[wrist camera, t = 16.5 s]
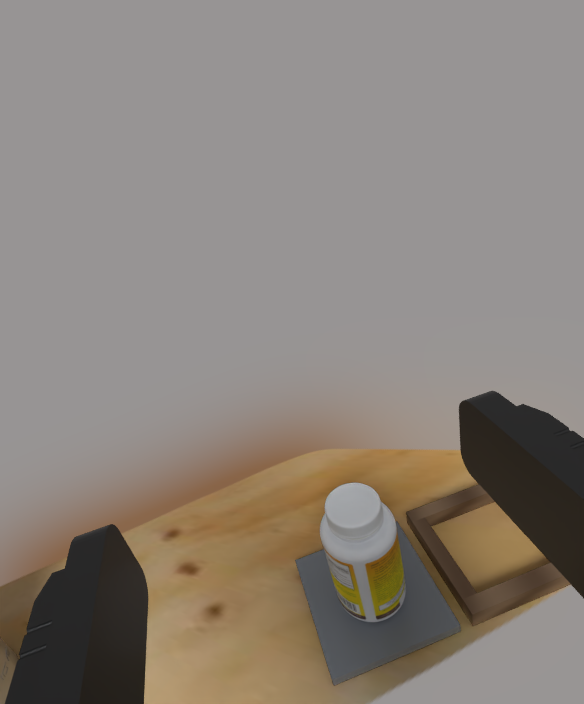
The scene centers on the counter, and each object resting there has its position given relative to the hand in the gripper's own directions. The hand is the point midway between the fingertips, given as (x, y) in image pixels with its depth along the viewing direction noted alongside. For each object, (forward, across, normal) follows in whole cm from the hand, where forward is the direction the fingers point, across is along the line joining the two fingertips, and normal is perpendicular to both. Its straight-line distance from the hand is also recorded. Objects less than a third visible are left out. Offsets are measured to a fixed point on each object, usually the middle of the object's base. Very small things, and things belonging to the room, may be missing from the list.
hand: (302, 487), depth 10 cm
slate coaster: (+14, -4, +28) cm, 32 cm away
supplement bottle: (+14, -4, +27) cm, 31 cm away
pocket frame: (+14, -15, +28) cm, 35 cm away
